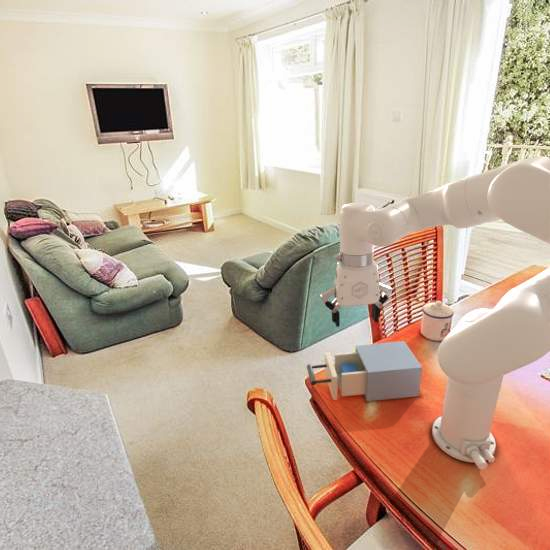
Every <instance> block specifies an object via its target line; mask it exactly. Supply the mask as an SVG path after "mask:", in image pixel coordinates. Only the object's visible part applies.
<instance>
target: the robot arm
mask: <svg viewBox="0 0 550 550" xmlns="http://www.w3.org/2000/svg"><path fill="white" fill-rule="evenodd" d="M497 221H502V222H504V223H506V224H507V225H510V226H511V227H513V228H514V229H517V230H519V231H521V232H523V233H525V234H528V235H529V236H532V237H534V238H536V239H538V240H541V241H543V242H545V243H547V244H549V245H550V156H543V155H537V156H530V157H526V158H523V159H519V160H517V161H513V162H511V163H508V164H504V165H501V166H499V167H496V168H492V169H490V170H485V171H483V172H480V173H476V174H474V175H471V176H468V177H465V178H462V179H459V180H456V181H453V182H452V181H451V182H449V183H446V184H444V185H443V186H441V187H438V188H436V189H433V190H429V191H425V192H423V193H420V194H418V195H414V196H411V197H408V198H404V199H402V200H398V201H396V202H393V203H391V204H388V205H386V206H384V207H381V208H377V209H375V207H374V206H373V205H372V204H371V203H367V202H350V203H347V204H344V205H343V206H342V207H341V208H340V210H339V251H338V253H336V254H334V255H333V260H334V261H337V265H336V269H335V275H334V285H333V286H332V287H330V288H328V289H327V290H325V291H323V292H322V293H320V294H319V297H320V299H321V301H322V302H323V304H324V305H325V307H327V308H328V309H329V310H330V311H331V321H332V323H334V324H335V327H336V328H339V327H340V326H341V325H340V324H341V323H340V311H339V310H340V309H341V308H342V307H343V308H346V307H347V308H348V307H359V306H367V305H368V306H369V305H371V313H370V314H371V315H370V316H371V318H372V320H373V322H374V323H379V318H381V308H383V305H384V304H385V303H386V302H387V301H388V300H389V297H390V295H391V294H392V292H393V288H392V287H391V286H389V285H386V284H383V283H381V282H380V275H379V266H378V263H377V262H376V260H374V255H375V254H374V253H375V252H374V251H375V246H376V247H382V248H383V247H389V246H391V245H393V244H395V243H396V242H399V241H400V240H401V239H403V238H405V237H406V236H409V235H411V234H414V233H416V232H420V231H423V230H427V229H431V228H435V227H441V226H447V225H448V226H453V227H455V228H456V229H468V228H471V227H476V226H481V225H483V224H484V225H485V224H489V223H492V222H497ZM381 291H382V293H381ZM332 296H334V299H333V300H332V302H331V301H330V300H329V298H331V297H332ZM549 352H550V267H548V268H547V269H545V270H543V271H542V272H541V273H538V274H537V275H535V276H533V277H532V278H530V279H528V280H527V281H525V282H523V283H521V284H519V285H518V286H516V287H513V288H512V289H510V290H509V291H508V292H507V293H505V295H503V297H502V298H501V299H500V300H499V301H498V302H497V303H496V305H495V306H494V308H493V309H491V308H479V309H474V310H471V311H470V312H467V313H466V314H465V315H463V316H462V317H461V318H460V320H459V321H458V322H457V323H456V324H455V325H454V326H453V327H452V329H450V332H449V334H448V335H447V336H446V337H445V338H444V340H441V343H440V344H439V346H438V349H437V362H438V365H439V367H440V369H441V370H442V372H443V373H444V375H446V376H447V381H446V385H445V392H444V399H443V406H442V412H441V416H439V417H437V418H436V419H435V420H434V421H433V424H432V426H431V434H432V435H431V436H432V438H433V440H434V442H435V444H436V445H437V446H438V447H439V449H441V450H442V451H443V452H444V453H445V454H447V455H448V456H451V457H452V458H454V459H456V460H459V461H463V462H465V463H474V464H475V466H476V467H477V468H478V470H480V471H483V470H486V469H487V468H488V466H489V464H488V463H494V462H495V460H496V458H495V457H494V454H495V452H496V447H497V444H496V439H495V437H494V435H493V433H492V432H491V430H492V425H493V422H494V417H495V413H496V409H497V404H498V400H499V396H500V392H501V388H502V384H503V381H504V380H503V379H504V376H505V375H507V374H510V373H512V372H514V371H516V370H519V369H521V368H523V367H526V366H528V365H530V364H533V363H534V362H537V361H539V360H540V359H541V358H543V357H544V356H546V355H547V354H549ZM487 461H488V462H487Z"/></svg>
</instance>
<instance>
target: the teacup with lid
mask: <svg viewBox="0 0 550 550" xmlns="http://www.w3.org/2000/svg"><path fill="white" fill-rule="evenodd" d="M421 309H422V316H421V325H420V333H421V335H422V336H423V337H425V338H426V339H428V340H432V341H437V342H439V341H441V342H442V341H443V340H444V338H445V337H446V336H447V335H448V334H449V332H450V331H451V330H452V329H451V328H452V321H453V316H454V314H455V313H454V309H453V308H452V307H451V306H450V305H448V304H446V303H443V301H442V300H436V301H434V302H428V303H426V304H424V305H423V306H422V308H421Z"/></svg>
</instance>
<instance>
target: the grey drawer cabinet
mask: <svg viewBox="0 0 550 550" xmlns="http://www.w3.org/2000/svg"><path fill="white" fill-rule="evenodd" d="M354 352H358V354H359V356H360V359H361V361H362V363H363V365H364V367H365V369H366V372H367V388H366V394H363V395H364V398H365V400H366V402H372V401H382V400H383V401H385V400H393V399H403V398H405V399H406V398H412V397H413V398H414V397H420V391H421V382H422V375H423V374H422V373H423V366H422V364H421V363H420V362H419V360H418V359H417V357H416V356H415V354H414V353H413V352H412V350H411V348H410V347H409V346H408V345H407V343H406V342H405V341H404V340H402V341H401V340H399V341H389V342H380V343H371V344H370V343H368V344H359V345H355V351H354Z"/></svg>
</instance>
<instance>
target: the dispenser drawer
mask: <svg viewBox="0 0 550 550" xmlns="http://www.w3.org/2000/svg"><path fill="white" fill-rule="evenodd" d="M333 360H334V361H333ZM333 360H332V357H331V354H330V351H329V352H324V364H314V365H312V364H310V363H308V364H307V365H306V370H307V374H308V378H309V382H310V383H309V384H310V385H311V386H316V384H324V383H325V384H326V383H327V385H328V388H329V392H330V395H331V399H332V401H337V400H338V389H339V392H340V395H341V397H350V396H359V395H364V394H366V388H367V372H366V369H365V367H364V365H363V363H362V361H361V359H360V356H359V354H358V352H355V351H350V352H349V351H348V352H340V353H338V352H337V353H334V359H333ZM333 362H334V363H333ZM343 364H356V367H357V369H358V372H348V373H341V377H340V365H343ZM322 368H324V375H325V379H324V378H322V379H316V377H315V372H314V369H322Z"/></svg>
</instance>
